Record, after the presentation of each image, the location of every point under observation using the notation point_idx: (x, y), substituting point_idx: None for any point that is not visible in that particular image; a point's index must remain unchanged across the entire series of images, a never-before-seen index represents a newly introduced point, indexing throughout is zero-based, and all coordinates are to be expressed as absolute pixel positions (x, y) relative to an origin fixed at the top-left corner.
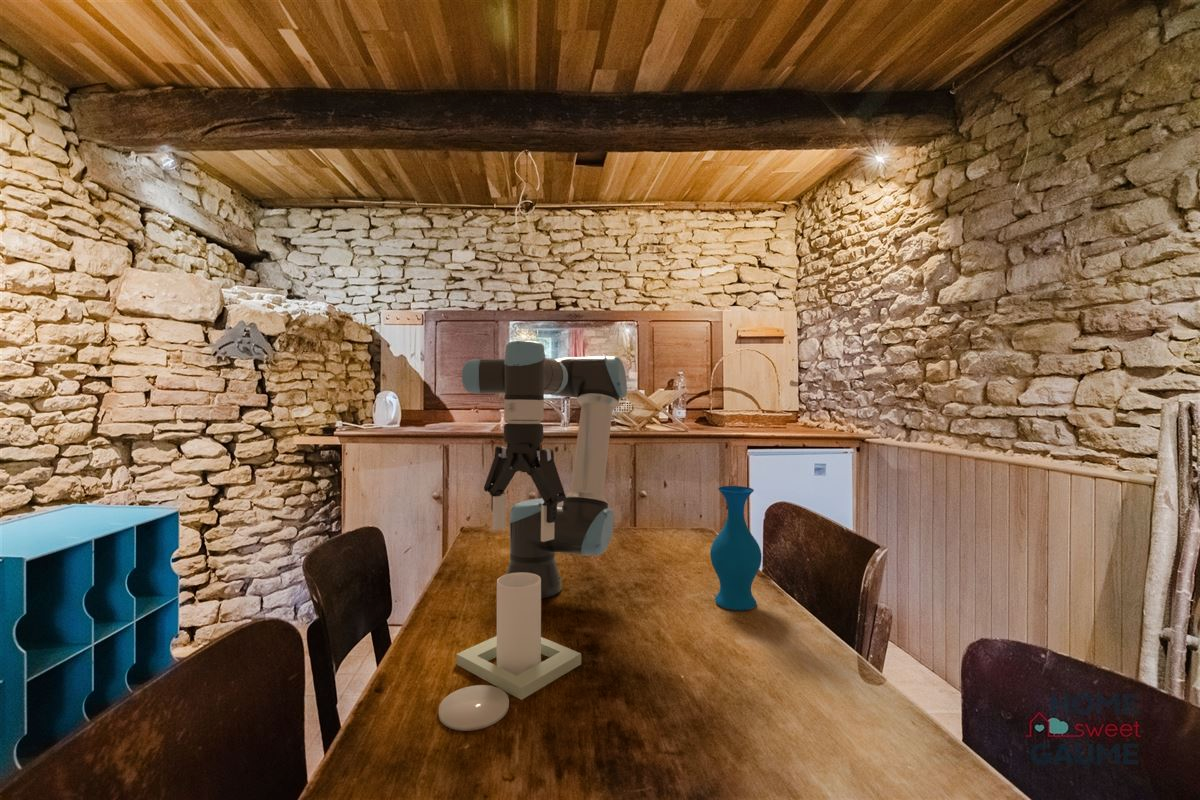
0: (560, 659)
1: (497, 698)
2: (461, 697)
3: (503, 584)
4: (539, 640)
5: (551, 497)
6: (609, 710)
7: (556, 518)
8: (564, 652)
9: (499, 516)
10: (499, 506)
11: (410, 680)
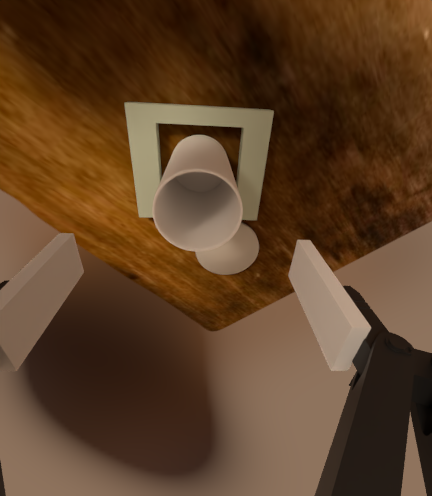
0: (257, 145)
1: (238, 233)
2: (209, 251)
3: (158, 211)
4: (229, 163)
5: (412, 408)
6: (346, 174)
7: (359, 295)
8: (250, 125)
9: (58, 284)
10: (36, 313)
11: (137, 254)
